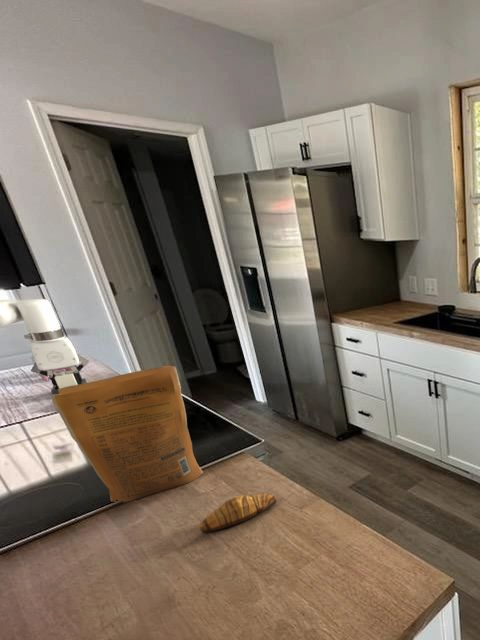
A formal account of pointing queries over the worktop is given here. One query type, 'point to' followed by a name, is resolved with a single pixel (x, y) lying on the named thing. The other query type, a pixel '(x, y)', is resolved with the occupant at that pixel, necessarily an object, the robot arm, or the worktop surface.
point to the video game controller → (55, 373)
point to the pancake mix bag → (132, 431)
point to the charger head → (65, 379)
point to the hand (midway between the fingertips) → (69, 384)
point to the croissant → (237, 511)
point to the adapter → (55, 389)
